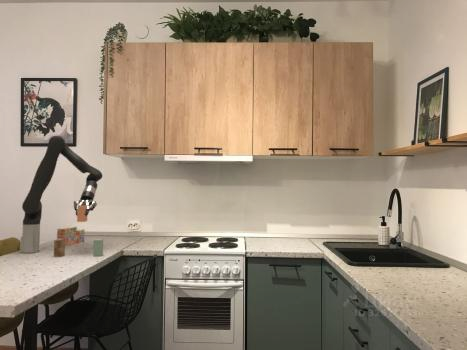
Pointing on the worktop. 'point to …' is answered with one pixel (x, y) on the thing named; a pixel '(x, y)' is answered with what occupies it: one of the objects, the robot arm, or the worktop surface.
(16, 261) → the worktop surface
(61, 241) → the walnut block
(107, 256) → the worktop surface
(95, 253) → the sage green block
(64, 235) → the stack of blocks
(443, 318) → the worktop surface
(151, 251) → the worktop surface
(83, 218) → the terracotta block
